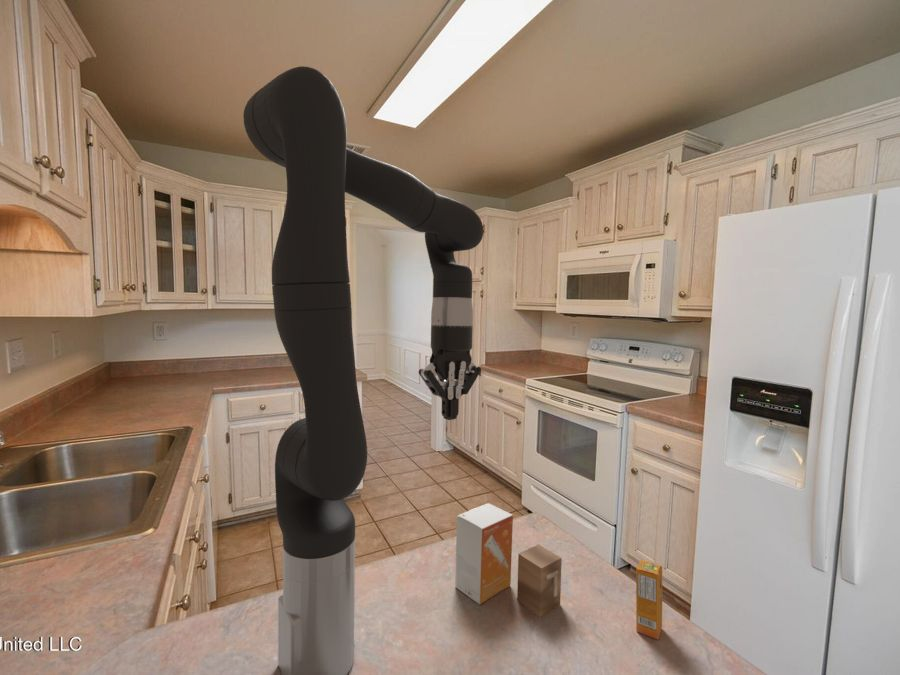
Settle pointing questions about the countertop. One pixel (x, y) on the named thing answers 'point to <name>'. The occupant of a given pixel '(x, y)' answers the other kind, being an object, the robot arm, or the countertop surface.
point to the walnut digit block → (539, 579)
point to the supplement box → (649, 599)
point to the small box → (483, 552)
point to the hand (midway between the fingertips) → (450, 418)
